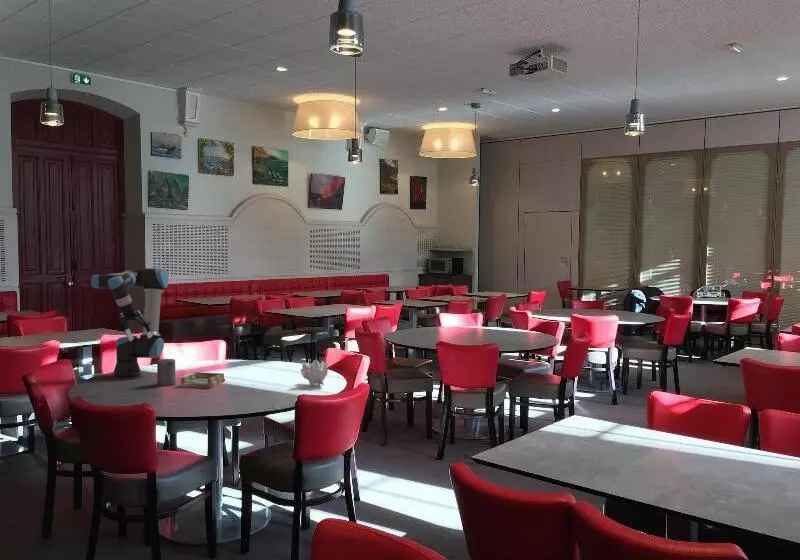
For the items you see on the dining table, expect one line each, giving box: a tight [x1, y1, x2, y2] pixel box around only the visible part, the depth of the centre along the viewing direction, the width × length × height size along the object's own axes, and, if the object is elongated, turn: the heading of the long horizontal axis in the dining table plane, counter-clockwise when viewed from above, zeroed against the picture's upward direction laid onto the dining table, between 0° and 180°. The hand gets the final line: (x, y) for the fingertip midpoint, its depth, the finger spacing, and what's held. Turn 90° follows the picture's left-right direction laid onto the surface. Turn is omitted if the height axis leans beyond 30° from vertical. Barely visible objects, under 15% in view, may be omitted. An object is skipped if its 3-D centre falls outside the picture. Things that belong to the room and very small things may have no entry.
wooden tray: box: [179, 372, 226, 389], centre depth 373 cm, size 18×18×5 cm
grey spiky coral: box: [300, 358, 329, 387], centre depth 373 cm, size 20×17×15 cm
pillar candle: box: [156, 358, 177, 387], centre depth 372 cm, size 10×10×15 cm
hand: (140, 338), depth 365 cm, fingers open, 13 cm apart
